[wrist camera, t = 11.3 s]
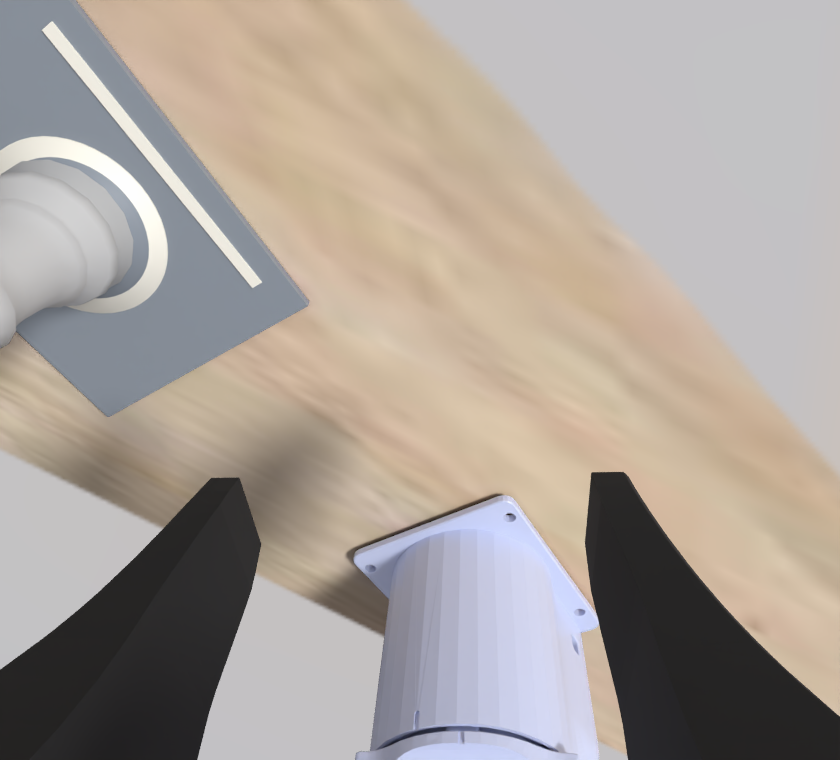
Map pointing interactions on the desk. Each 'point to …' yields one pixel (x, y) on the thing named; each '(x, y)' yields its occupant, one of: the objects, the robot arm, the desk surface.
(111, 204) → the rook chess piece
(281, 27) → the desk surface
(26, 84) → the grey base plate
